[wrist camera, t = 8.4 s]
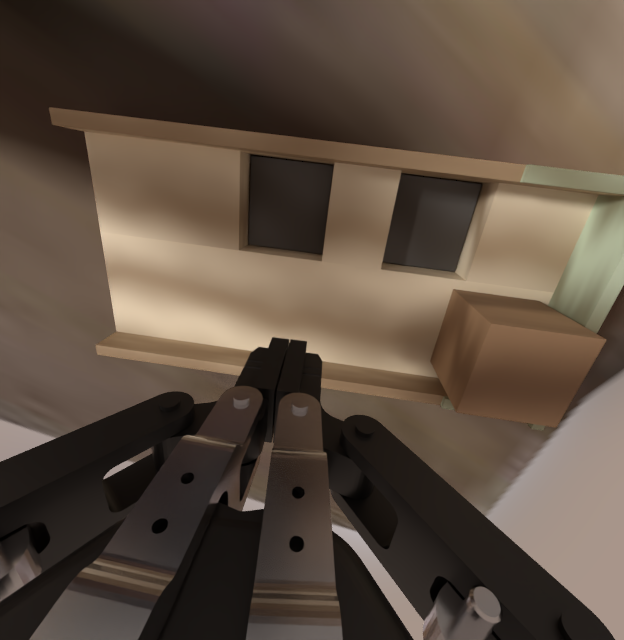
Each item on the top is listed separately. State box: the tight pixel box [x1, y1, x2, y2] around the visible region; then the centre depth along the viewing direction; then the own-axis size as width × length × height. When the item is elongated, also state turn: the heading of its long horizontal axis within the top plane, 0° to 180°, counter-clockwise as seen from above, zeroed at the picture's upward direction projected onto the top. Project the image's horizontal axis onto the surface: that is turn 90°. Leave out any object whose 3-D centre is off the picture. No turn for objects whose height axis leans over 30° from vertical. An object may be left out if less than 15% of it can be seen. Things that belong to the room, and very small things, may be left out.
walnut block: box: [430, 289, 606, 427], centre depth 17 cm, size 5×5×5 cm
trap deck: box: [49, 107, 624, 431], centre depth 18 cm, size 13×28×5 cm, turn 83°
